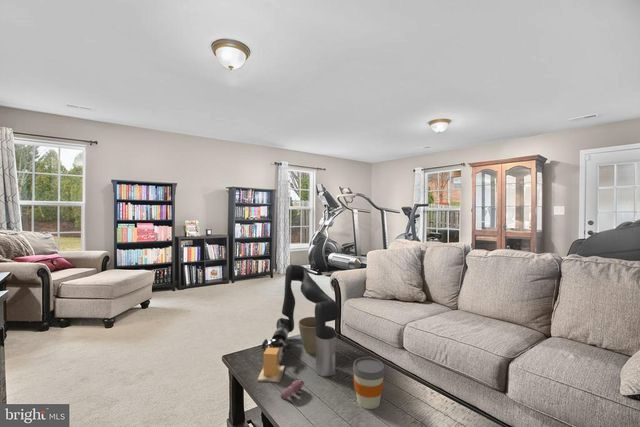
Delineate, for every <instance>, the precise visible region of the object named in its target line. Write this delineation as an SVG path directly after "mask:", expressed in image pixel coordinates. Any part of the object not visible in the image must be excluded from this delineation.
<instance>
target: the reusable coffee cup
mask: <svg viewBox="0 0 640 427" xmlns="http://www.w3.org/2000/svg"><path fill="white" fill-rule="evenodd" d="M352 365H353V367H352V372H353V386H354V390H355V393H356V401H357V404H358V405H359V406H360V407H361V408H364V409H366V410H367V409H368V410H373V409H374V410H375V409H377V408H378V407H379V406H380V404H381V398H382V397H381V395H382V393H383V390H384V383H385V379H384V376H385V373H386V372H385V365H384V363H383V362H382V361H381V360H380V359H378V358H375V357H370V356H368V357H367V356H364V357H358V358H356V359H355V360H354V361H353V364H352Z"/></svg>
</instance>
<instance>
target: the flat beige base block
mask: <svg viewBox="0 0 640 427" xmlns="http://www.w3.org/2000/svg"><path fill="white" fill-rule="evenodd" d="M284 370H285V365H279V371H278V373H277V376H264V365H263V366H262V369H261V371H260V373H259V375H258V378H257V382H262V383H263V382H264V383H265V382H266V383H281V379H282V377H283V373H284Z"/></svg>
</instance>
